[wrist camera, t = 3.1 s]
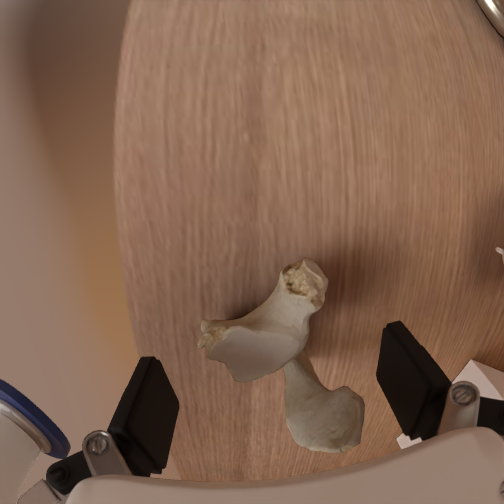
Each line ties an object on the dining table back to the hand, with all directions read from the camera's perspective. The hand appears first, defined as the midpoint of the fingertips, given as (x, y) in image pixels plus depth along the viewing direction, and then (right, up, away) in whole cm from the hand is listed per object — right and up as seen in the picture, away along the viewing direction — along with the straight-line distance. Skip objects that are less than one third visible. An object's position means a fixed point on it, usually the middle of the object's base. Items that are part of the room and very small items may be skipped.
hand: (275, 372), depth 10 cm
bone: (0, +2, +5) cm, 5 cm away
